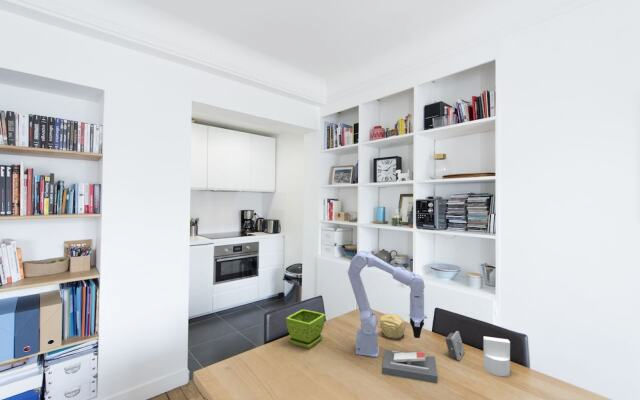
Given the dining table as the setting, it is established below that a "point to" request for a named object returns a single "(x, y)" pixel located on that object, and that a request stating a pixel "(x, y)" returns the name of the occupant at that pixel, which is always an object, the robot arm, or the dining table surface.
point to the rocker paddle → (409, 356)
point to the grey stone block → (455, 345)
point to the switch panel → (410, 367)
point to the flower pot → (305, 327)
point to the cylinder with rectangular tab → (497, 356)
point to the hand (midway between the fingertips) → (416, 336)
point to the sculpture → (392, 325)
